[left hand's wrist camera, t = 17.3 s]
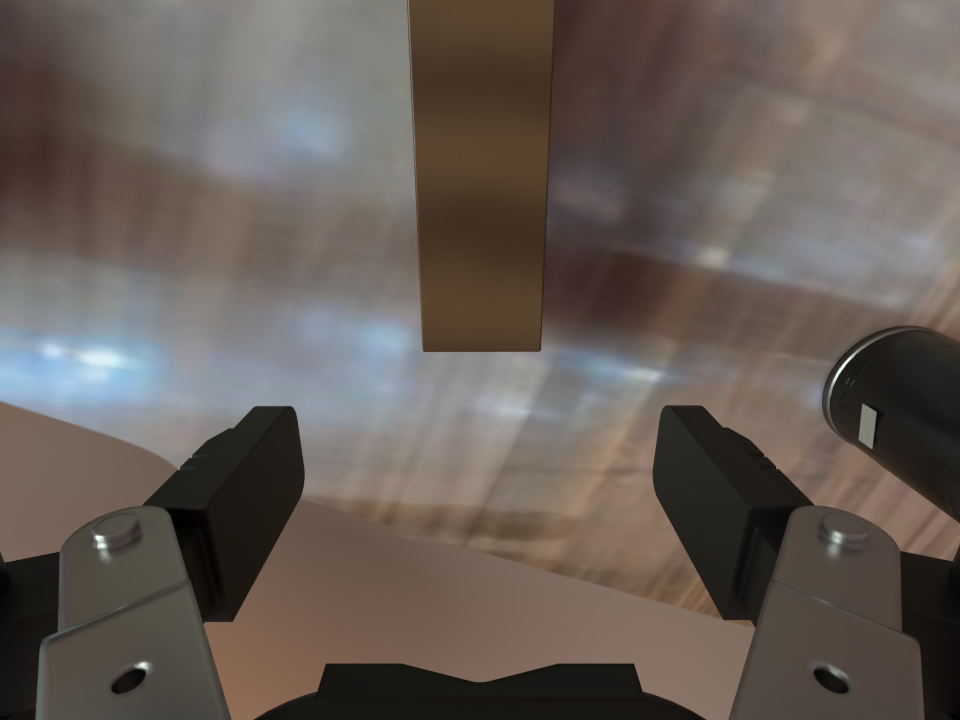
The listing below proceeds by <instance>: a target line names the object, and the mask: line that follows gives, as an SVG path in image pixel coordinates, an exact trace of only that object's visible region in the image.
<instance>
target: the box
mask: <svg viewBox="0 0 960 720" xmlns="http://www.w3.org/2000/svg"><path fill="white" fill-rule="evenodd" d="M555 3H556V0H407V12H408V34H409V56H410V78H411V101H412V123H413V145H414V167H415V189H416V212H417V234H418V256H419V278H420V300H421V322H422V345H423V351H424V352H539V351H540V350H541V334H542V310H543V287H544V263H545V239H546V216H547V192H548V169H549V145H550V121H551V98H552V74H553V51H554V27H555Z"/></svg>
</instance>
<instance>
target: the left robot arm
mask: <svg viewBox="0 0 960 720" xmlns="http://www.w3.org/2000/svg"><path fill="white" fill-rule="evenodd" d="M822 408H823V413H824V416H825V419H826V421H827V423H828V425H829V426H830V428H831V429H832V430H833V431H834V432H835V433H836V434H837V435H839V436H840V437H841V438H843V439H844V440H845V441H847V442H849V443H850V444H852V445H854V446H856V447H857V448H859V449H860V450H861V451H863V452H864V453H865V454H867V455H868V456H869V457H871V458H872V459H873V460H875V461H876V462H877V463H878V464H880V465H881V466H883V467H884V468H885V469H887V470H888V471H889V472H891V473H892V474H893V475H895V476H896V477H897V478H899V479H900V480H902V481H903V482H904V483H906V484H907V485H908V486H910V487H911V488H912V489H914V490H915V491H916V492H918V493H919V494H921V495H922V496H923V497H925V498H926V499H927V500H929V501H930V502H931V503H933V504H934V505H936V506H937V507H938V508H940V509H941V510H942V511H944V512H945V513H946V514H948V515H949V516H950V517H952V518H953V519H955V520H956V521H957V522H959V523H960V342H959V341H956V340H953V339H950V338H948V337H947V336H945V335H943V334H941V333H938V332H936V331H933V330H930V329H927V328H923V327H918V326H898V327H892V328H888V329H885V330H881V331H879V332H876V333H874V334H872V335H870V336H868V337H866V338H864V339H863V340H861V341H860V342H858V343H857V344H855V345H854V346H853V347H851V348H850V349H849V350H848V351H847V352H846V353H845V354H844V355H843V356H842V357H841V358H840V359H839V360H838V362H837V363H836V364H835V366H834V367H833V369H832V370H831V372H830V374H829V376H828V378H827V381H826V383H825V386H824V390H823V396H822ZM304 478H305V471H304V463H303V456H302V449H301V442H300V435H299V428H298V421H297V415H296V412H295V410H294V408H293V407H291V406H256V407H254V408H253V409H252V410H251V411H250V412H249V413H248V414H247V415H246V416H245V417H244V418H243V419H242V420H241V421H240V422H239V423H238V424H237V425H236V427H235V428H229V429H227V430H225V431H224V432H222V433H220V434H218V435H216V436H215V437H213V438H211V439H209V440H207V441H206V442H205V443H204V444H203V445H202V446H201V447H200V448H199V449H198V450H197V451H196V452H195V453H194V454H193V455H192V458H189V459H188V460H187V461H186V462H185V463H184V464H183V465H182V466H181V467H180V470H177V471H176V472H175V473H174V474H173V475H172V476H171V477H170V478H169V479H168V480H167V481H166V482H165V483H164V484H163V485H162V486H161V487H160V488H159V489H158V490H157V491H156V492H155V493H154V494H153V495H152V496H151V497H150V498H149V499H148V500H147V501H146V502H145V503H144V504H143V505H142V506H134V507H129V508H124V509H120V510H116V511H113V512H110V513H108V514H105V515H103V516H100V517H98V518H96V519H94V520H92V521H90V522H88V523H87V524H85V525H84V526H82V527H80V528H79V529H78V530H76V531H75V532H74V533H73V534H72V535H71V536H70V537H68V539H67V540H66V541H65V542H64V544H63V545H62V547H61V550H60V552H56V553H51V554H46V555H41V556H36V557H31V558H26V559H22V560H16V561H11V562H6V563H5V562H4V560H3V557H2V555H1V552H0V720H232V719H231V716H230V713H229V709H228V706H227V703H226V699H225V696H224V692H223V689H222V686H221V682H220V679H219V675H218V672H217V669H216V665H215V662H214V659H213V655H212V652H211V648H210V645H209V642H208V638H207V635H206V631H205V628H204V625H203V624H204V623H205V622H233V620H234V618H235V616H236V615H237V613H238V611H239V609H240V607H241V605H242V604H243V602H244V600H245V598H246V596H247V594H248V593H249V591H250V589H251V587H252V585H253V584H254V582H255V580H256V578H257V576H258V574H259V572H260V571H261V569H262V567H263V565H264V563H265V562H266V560H267V558H268V556H269V554H270V552H271V551H272V549H273V547H274V545H275V543H276V541H277V539H278V538H279V536H280V534H281V532H282V530H283V529H284V527H285V525H286V523H287V521H288V519H289V518H290V516H291V514H292V512H293V510H294V508H295V507H296V505H297V503H298V501H299V499H300V497H301V495H302V491H303V487H304ZM653 484H654V489H655V493H656V496H657V498H658V500H659V502H660V503H661V505H662V507H663V509H664V511H665V513H666V515H667V516H668V518H669V520H670V522H671V524H672V526H673V527H674V529H675V531H676V533H677V535H678V537H679V539H680V540H681V542H682V544H683V546H684V548H685V550H686V552H687V553H688V555H689V557H690V559H691V561H692V563H693V565H694V566H695V568H696V570H697V572H698V574H699V576H700V577H701V579H702V581H703V583H704V585H705V587H706V589H707V590H708V592H709V594H710V596H711V598H712V600H713V602H714V603H715V605H716V607H717V609H718V611H719V613H720V615H721V616H722V618H723V620H751V621H752V623H753V625H754V626H755V631H754V635H753V638H752V642H751V645H750V648H749V652H748V655H747V659H746V662H745V665H744V669H743V672H742V675H741V679H740V682H739V686H738V689H737V692H736V696H735V699H734V702H733V706H732V709H731V713H730V716H729V720H960V546H959V548H958V550H957V553H956V555H955V558H954V560H953V561H948V560H943V559H938V558H933V557H928V556H923V555H918V554H913V553H908V552H903V551H900V550H899V547H898V545H897V544H896V542H895V541H894V540H893V539H892V537H890V536H889V535H888V534H887V533H886V532H885V531H884V530H882V529H881V528H880V527H878V526H876V525H875V524H873V523H872V522H870V521H868V520H866V519H864V518H862V517H860V516H857V515H855V514H852V513H850V512H847V511H844V510H840V509H836V508H832V507H826V506H815V505H814V504H813V503H812V502H811V501H810V500H809V499H808V498H807V497H806V496H805V495H804V494H803V493H802V492H801V491H800V490H799V489H798V488H797V487H796V486H795V485H794V484H793V483H792V482H791V481H790V480H789V479H788V478H787V477H786V476H785V475H784V474H783V473H782V472H781V471H780V470H779V469H776V466H775V465H774V464H773V463H772V462H771V461H770V460H769V459H768V458H767V457H764V454H763V453H762V452H761V451H760V450H759V449H758V448H757V447H756V446H755V445H754V444H753V443H752V442H751V441H750V440H749V439H747V438H746V437H744V436H742V435H740V434H738V433H737V432H735V431H733V430H731V429H729V428H723V427H722V426H721V425H720V424H719V423H718V422H717V421H716V420H715V419H714V417H713V416H712V415H711V414H710V413H709V412H708V411H707V410H706V409H705V408H704V407H703V406H665V407H664V408H663V409H662V412H661V415H660V422H659V429H658V436H657V443H656V450H655V457H654V464H653ZM254 720H706V719H704V718H703V717H701V716H699V715H698V714H696V713H694V712H693V711H691V710H689V709H687V708H685V707H683V706H681V705H678V704H676V703H674V702H672V701H670V700H667V699H664V698H661V697H659V696H656V695H653V694H650V693H646V692H643V691H642V688H641V685H640V682H639V678H638V675H637V672H636V669H635V666H634V664H555V665H551V666H547V667H543V668H539V669H535V670H531V671H527V672H524V673H520V674H516V675H512V676H508V677H504V678H500V679H496V680H492V681H488V682H472V681H468V680H464V679H460V678H456V677H452V676H448V675H444V674H440V673H436V672H433V671H429V670H425V669H421V668H417V667H413V666H409V665H405V664H326V665H325V669H324V672H323V675H322V678H321V682H320V685H319V688H318V691H317V692H314V693H310V694H307V695H304V696H301V697H299V698H296V699H293V700H290V701H288V702H286V703H284V704H282V705H279V706H277V707H275V708H273V709H271V710H269V711H267V712H266V713H264V714H262V715H261V716H259V717H257V718H256V719H254Z"/></svg>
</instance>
